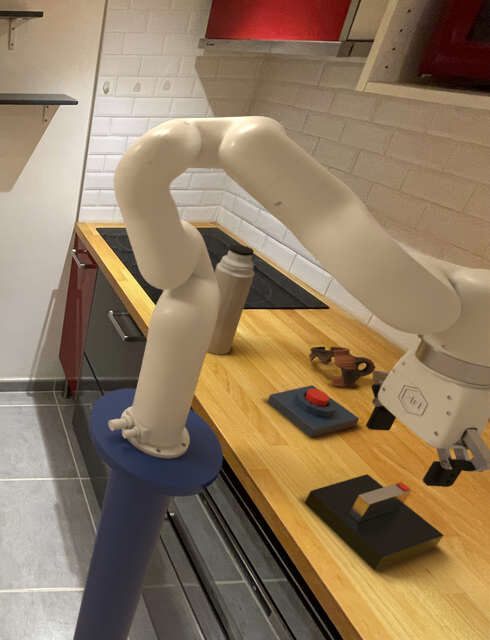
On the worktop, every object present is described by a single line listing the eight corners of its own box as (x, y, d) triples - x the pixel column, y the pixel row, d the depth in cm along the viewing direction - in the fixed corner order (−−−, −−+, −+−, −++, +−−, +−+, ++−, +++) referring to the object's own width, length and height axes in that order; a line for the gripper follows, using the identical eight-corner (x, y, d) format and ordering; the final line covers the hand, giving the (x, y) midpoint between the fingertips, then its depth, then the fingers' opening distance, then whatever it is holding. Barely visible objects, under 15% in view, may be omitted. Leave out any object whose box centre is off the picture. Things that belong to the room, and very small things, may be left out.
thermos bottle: (201, 331, 122) (227, 238, 110) (233, 344, 117) (265, 247, 105) (191, 344, 116) (218, 247, 105) (224, 358, 111) (257, 258, 100)
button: (317, 408, 91) (320, 402, 91) (300, 396, 95) (303, 390, 94) (330, 405, 92) (333, 399, 92) (314, 393, 95) (316, 387, 95)
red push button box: (310, 437, 89) (317, 422, 87) (267, 402, 98) (272, 387, 96) (355, 426, 92) (362, 411, 90) (309, 392, 101) (315, 378, 99)
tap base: (374, 569, 66) (382, 557, 65) (304, 502, 76) (310, 490, 75) (435, 547, 70) (444, 535, 68) (360, 485, 79) (367, 473, 78)
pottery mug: (319, 387, 103) (314, 351, 104) (305, 379, 112) (300, 345, 113) (385, 388, 98) (379, 350, 99) (365, 379, 107) (360, 345, 108)
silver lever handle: (358, 523, 70) (370, 503, 68) (348, 513, 71) (359, 493, 69) (400, 509, 72) (412, 489, 70) (389, 500, 73) (401, 480, 72)
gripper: (373, 322, 67) (334, 409, 73) (497, 408, 51) (432, 509, 58) (425, 323, 66) (381, 411, 73) (566, 410, 50) (493, 512, 57)
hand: (404, 454), depth 65 cm, fingers open, 9 cm apart
